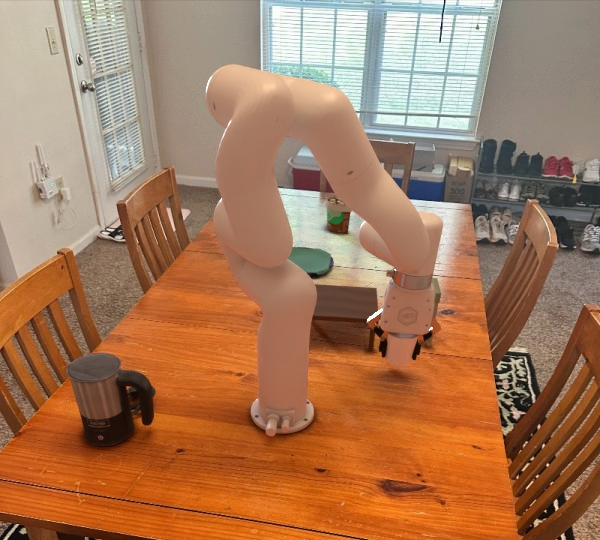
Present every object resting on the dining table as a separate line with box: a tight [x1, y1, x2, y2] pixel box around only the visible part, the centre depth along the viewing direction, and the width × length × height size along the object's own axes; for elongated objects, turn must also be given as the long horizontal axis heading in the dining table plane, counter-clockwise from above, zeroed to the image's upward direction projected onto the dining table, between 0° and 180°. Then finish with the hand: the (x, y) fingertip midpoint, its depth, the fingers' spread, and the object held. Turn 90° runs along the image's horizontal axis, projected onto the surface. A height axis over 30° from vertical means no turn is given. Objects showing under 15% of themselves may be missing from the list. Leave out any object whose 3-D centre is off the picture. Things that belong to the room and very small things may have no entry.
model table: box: [312, 283, 380, 352], centre depth 136 cm, size 16×18×9 cm
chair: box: [426, 277, 442, 348], centre depth 133 cm, size 8×7×14 cm
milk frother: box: [65, 352, 156, 447], centre depth 106 cm, size 14×16×15 cm
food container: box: [324, 194, 353, 235], centre depth 191 cm, size 12×6×10 cm, turn 25°
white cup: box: [384, 332, 418, 367], centre depth 120 cm, size 7×7×7 cm
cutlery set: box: [288, 246, 335, 276], centre depth 170 cm, size 20×30×2 cm, turn 83°
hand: (398, 355), depth 122 cm, fingers closed on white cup, 5 cm apart
